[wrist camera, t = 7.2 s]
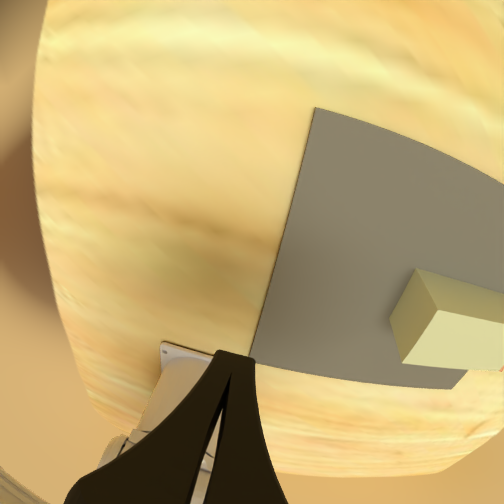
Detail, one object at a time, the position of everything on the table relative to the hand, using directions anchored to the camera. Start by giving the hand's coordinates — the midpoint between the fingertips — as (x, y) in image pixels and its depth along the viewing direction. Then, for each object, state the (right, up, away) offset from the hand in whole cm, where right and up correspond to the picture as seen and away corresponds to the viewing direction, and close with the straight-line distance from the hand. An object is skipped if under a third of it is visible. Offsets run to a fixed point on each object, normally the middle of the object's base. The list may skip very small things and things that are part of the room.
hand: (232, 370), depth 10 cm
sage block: (+11, 0, +7) cm, 13 cm away
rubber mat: (+13, +1, +9) cm, 16 cm away
